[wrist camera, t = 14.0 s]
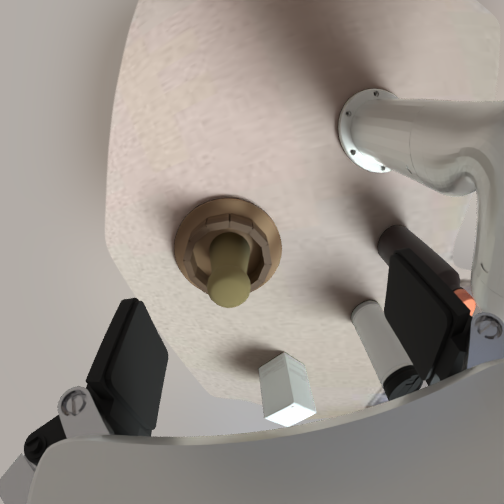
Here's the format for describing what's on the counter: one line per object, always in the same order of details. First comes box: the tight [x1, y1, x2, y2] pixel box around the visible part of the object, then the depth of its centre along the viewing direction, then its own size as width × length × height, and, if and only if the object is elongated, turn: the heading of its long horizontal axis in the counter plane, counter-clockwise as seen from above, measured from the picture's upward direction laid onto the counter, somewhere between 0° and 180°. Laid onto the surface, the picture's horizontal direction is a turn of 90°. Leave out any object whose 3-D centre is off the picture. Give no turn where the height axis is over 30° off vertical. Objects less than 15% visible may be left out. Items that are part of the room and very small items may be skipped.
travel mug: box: [351, 301, 423, 401], centre depth 42 cm, size 6×7×20 cm
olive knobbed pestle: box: [207, 232, 251, 308], centre depth 37 cm, size 6×6×11 cm
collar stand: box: [174, 198, 282, 294], centre depth 41 cm, size 16×16×4 cm
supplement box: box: [259, 352, 317, 427], centre depth 51 cm, size 7×7×13 cm
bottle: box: [378, 225, 476, 316], centre depth 35 cm, size 7×7×20 cm
